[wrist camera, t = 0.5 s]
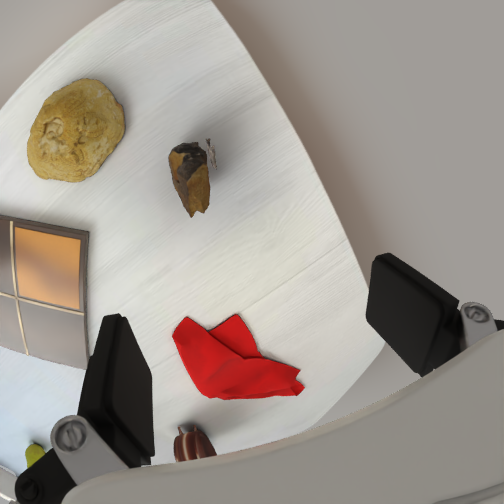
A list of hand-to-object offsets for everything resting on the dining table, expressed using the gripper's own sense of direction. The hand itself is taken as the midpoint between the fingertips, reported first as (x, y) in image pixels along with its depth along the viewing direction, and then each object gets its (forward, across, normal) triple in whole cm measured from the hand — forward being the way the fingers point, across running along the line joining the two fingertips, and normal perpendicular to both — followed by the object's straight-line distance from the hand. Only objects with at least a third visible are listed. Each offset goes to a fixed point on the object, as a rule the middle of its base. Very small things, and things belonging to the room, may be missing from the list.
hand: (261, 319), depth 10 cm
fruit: (+21, +51, +45) cm, 71 cm away
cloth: (+22, 0, +26) cm, 34 cm away
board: (+21, +26, +7) cm, 34 cm away
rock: (+22, +1, -4) cm, 22 cm away
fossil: (+22, +12, -9) cm, 27 cm away
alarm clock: (+21, +10, +41) cm, 48 cm away
